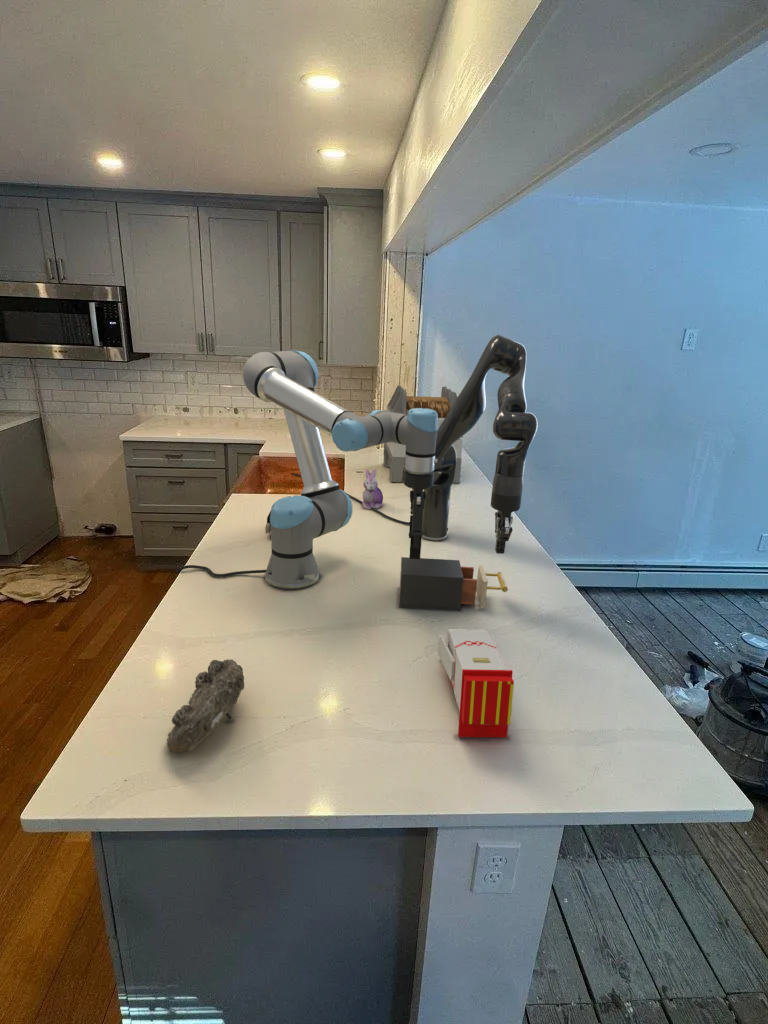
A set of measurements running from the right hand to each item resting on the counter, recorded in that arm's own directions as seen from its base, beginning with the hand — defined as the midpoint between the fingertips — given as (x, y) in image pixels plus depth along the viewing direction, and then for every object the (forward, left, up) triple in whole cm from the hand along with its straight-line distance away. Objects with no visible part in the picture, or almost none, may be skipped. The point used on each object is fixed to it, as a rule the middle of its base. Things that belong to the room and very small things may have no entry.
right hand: (499, 552), depth 150 cm
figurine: (-72, +42, -15) cm, 85 cm away
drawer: (-7, -4, -14) cm, 16 cm away
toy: (+13, -39, -15) cm, 43 cm away
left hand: (-19, -12, 0) cm, 23 cm away
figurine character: (-80, -2, -15) cm, 82 cm away
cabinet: (-15, -10, -15) cm, 23 cm away
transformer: (-84, +96, -15) cm, 129 cm away
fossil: (-23, -77, -15) cm, 81 cm away
